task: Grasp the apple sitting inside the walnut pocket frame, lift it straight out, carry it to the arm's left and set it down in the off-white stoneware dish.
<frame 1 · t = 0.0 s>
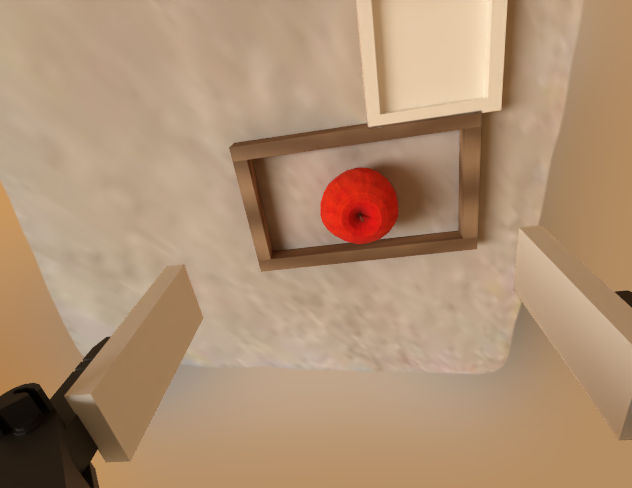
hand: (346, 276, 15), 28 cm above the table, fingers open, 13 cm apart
dish: (427, 48, 36), on the table
apple: (357, 193, 43), resting in pocket frame
pocket frame: (357, 194, 43), on the table
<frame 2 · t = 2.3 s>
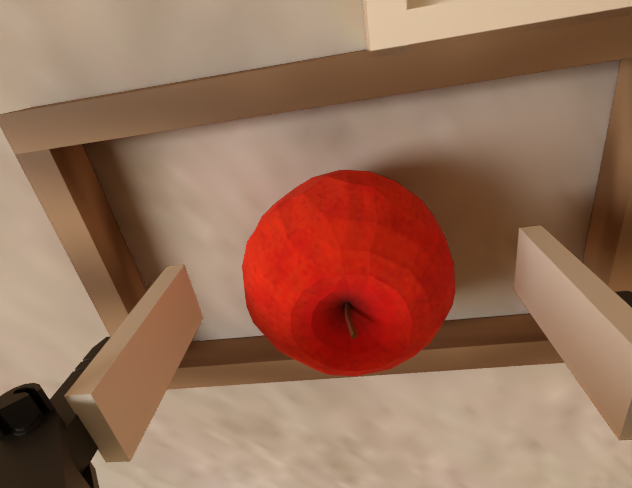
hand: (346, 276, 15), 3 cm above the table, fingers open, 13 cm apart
apple: (344, 228, 19), resting in pocket frame
pocket frame: (344, 230, 18), on the table
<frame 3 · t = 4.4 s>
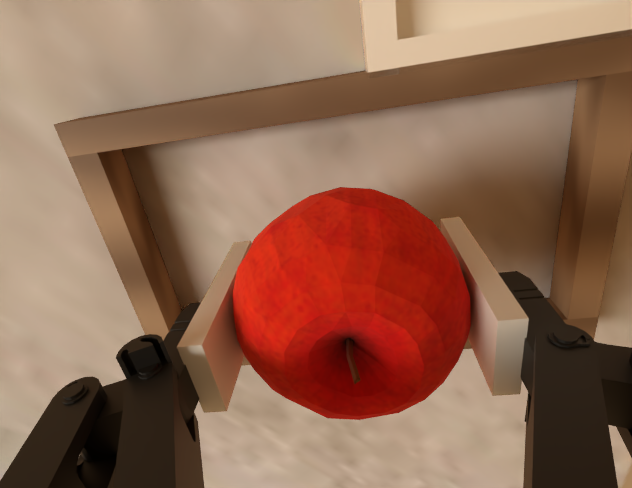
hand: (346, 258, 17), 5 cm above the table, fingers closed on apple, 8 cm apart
apple: (347, 247, 17), point 4 cm above the table, touching gripper
pocket frame: (346, 225, 21), on the table
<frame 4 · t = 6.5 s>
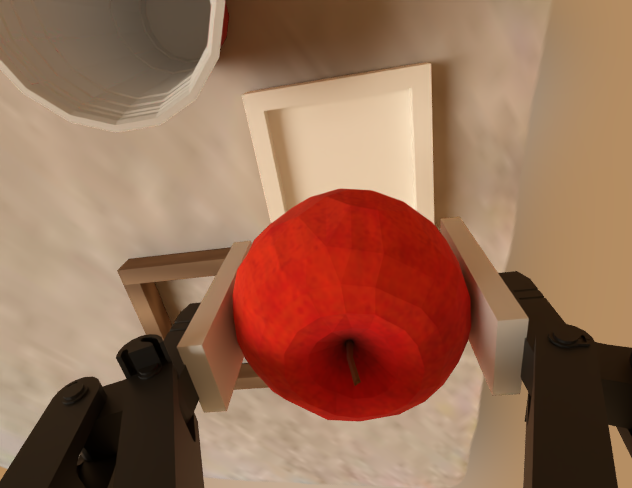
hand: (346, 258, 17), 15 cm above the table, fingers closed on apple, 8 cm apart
plastic cup: (191, 15, 26), on the table
dish: (344, 164, 30), on the table
apple: (347, 248, 17), point 14 cm above the table, touching gripper
pocket frame: (278, 313, 37), on the table
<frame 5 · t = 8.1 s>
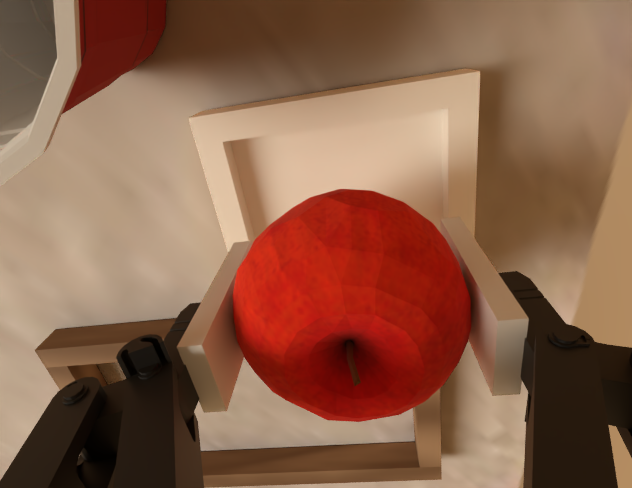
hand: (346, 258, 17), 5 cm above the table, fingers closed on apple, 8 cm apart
dish: (344, 212, 21), on the table
apple: (347, 248, 17), point 4 cm above the table, touching gripper
pocket frame: (257, 395, 28), on the table
when the fingers open (2 cm above the table, at t = 9.1 s): apple drops 1 cm, resting on dish.
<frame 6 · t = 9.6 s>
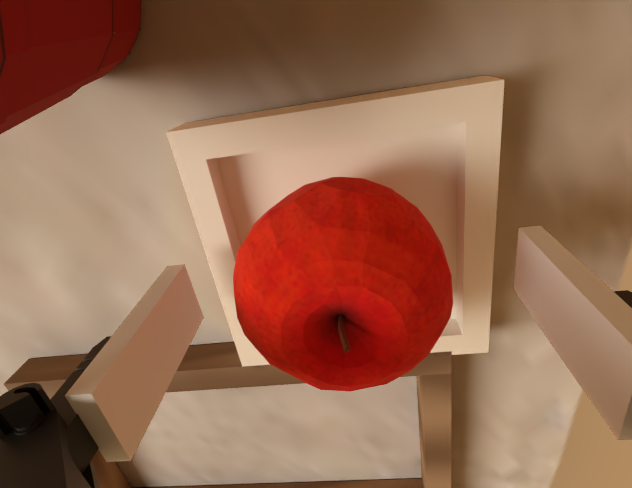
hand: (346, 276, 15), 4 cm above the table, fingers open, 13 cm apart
dish: (345, 235, 19), on the table
apple: (340, 236, 18), point 1 cm above the table, touching dish
pocket frame: (250, 429, 26), on the table
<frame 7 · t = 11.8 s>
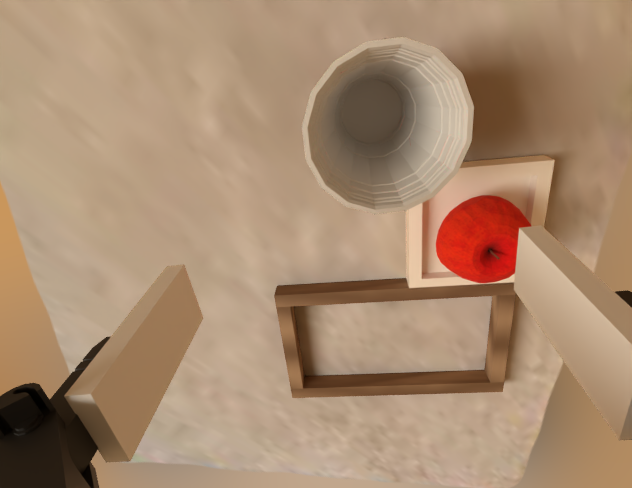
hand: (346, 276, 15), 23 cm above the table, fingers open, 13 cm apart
plastic cup: (373, 111, 35), on the table
dish: (469, 222, 39), on the table
apple: (468, 222, 38), point 1 cm above the table, touching dish
pocket frame: (391, 334, 45), on the table
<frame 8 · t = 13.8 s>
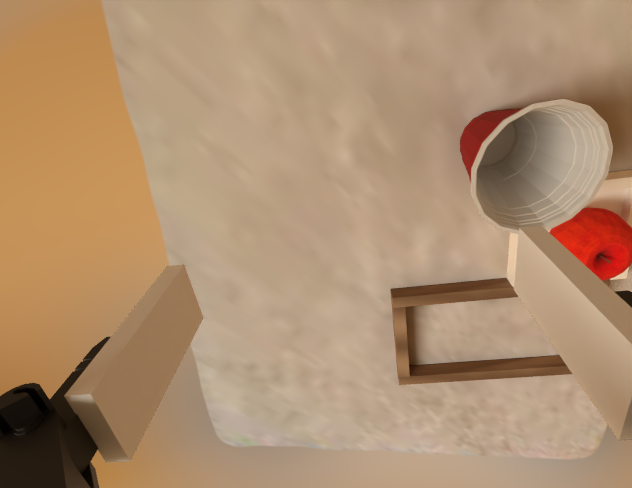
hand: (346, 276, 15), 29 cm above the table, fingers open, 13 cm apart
plastic cup: (489, 139, 40), on the table
dish: (566, 228, 44), on the table
apple: (567, 229, 44), point 1 cm above the table, touching dish
pocket frame: (489, 326, 51), on the table
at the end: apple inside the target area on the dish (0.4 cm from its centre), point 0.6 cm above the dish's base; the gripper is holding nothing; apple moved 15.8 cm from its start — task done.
